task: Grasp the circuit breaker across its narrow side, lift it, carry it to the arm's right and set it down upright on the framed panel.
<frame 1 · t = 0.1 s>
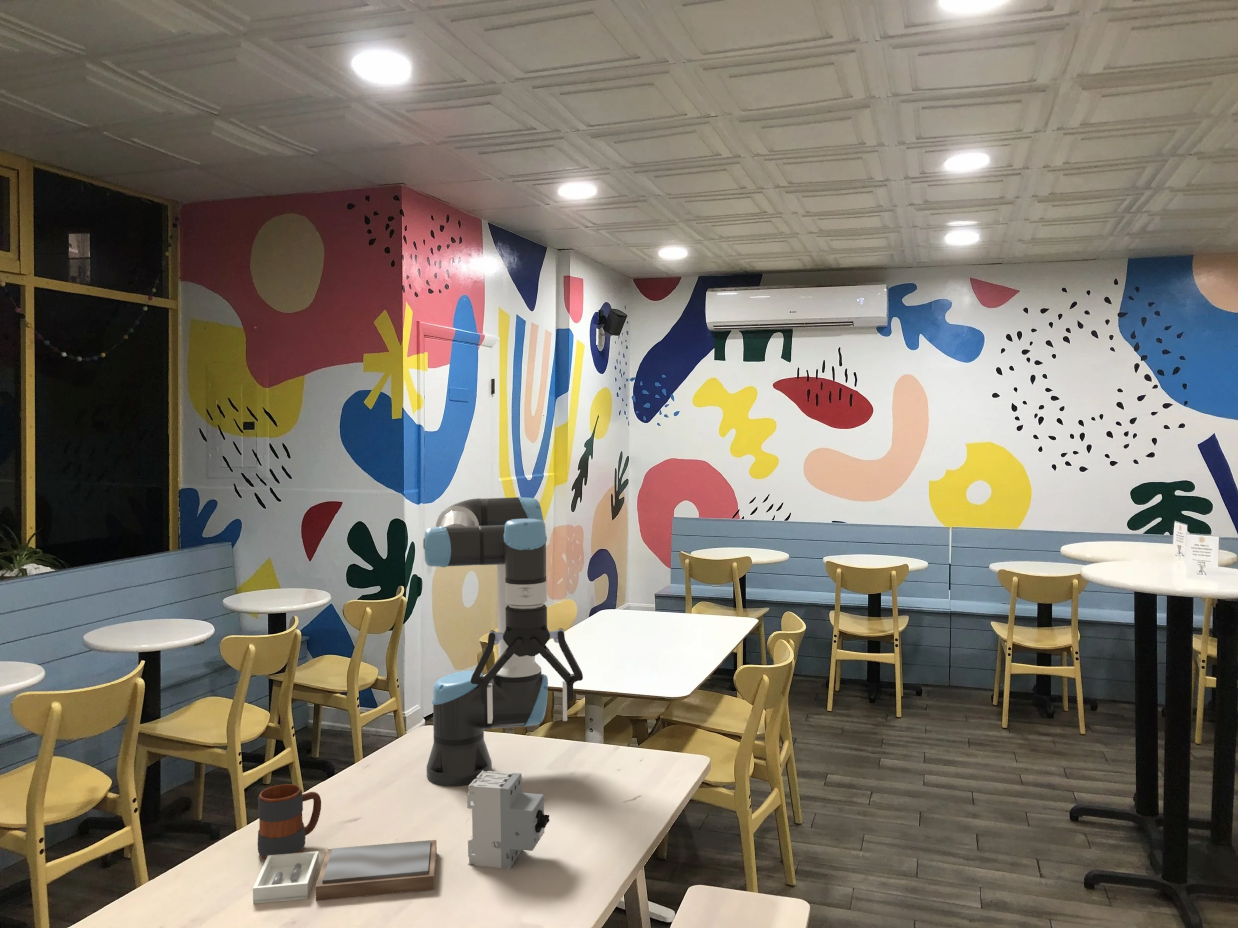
hand: (527, 719, 164), 28 cm above the table, fingers open, 13 cm apart
framed panel: (379, 875, 164), on the table
mug: (290, 849, 175), on the table
circuit breaker: (511, 859, 170), on the table
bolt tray: (287, 883, 161), on the table
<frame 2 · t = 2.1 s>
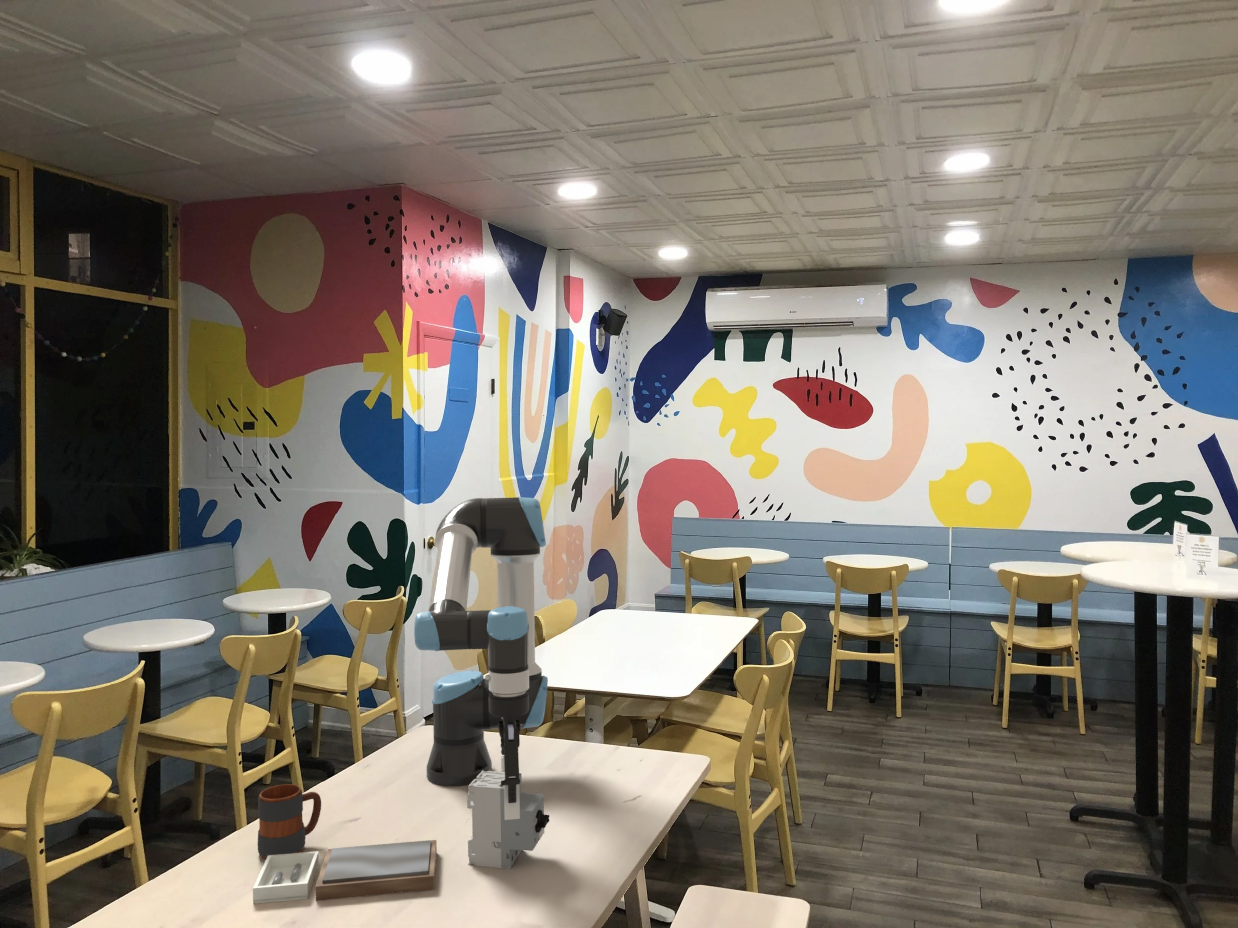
hand: (510, 803, 169), 11 cm above the table, fingers open, 13 cm apart
nothing on the table moved.
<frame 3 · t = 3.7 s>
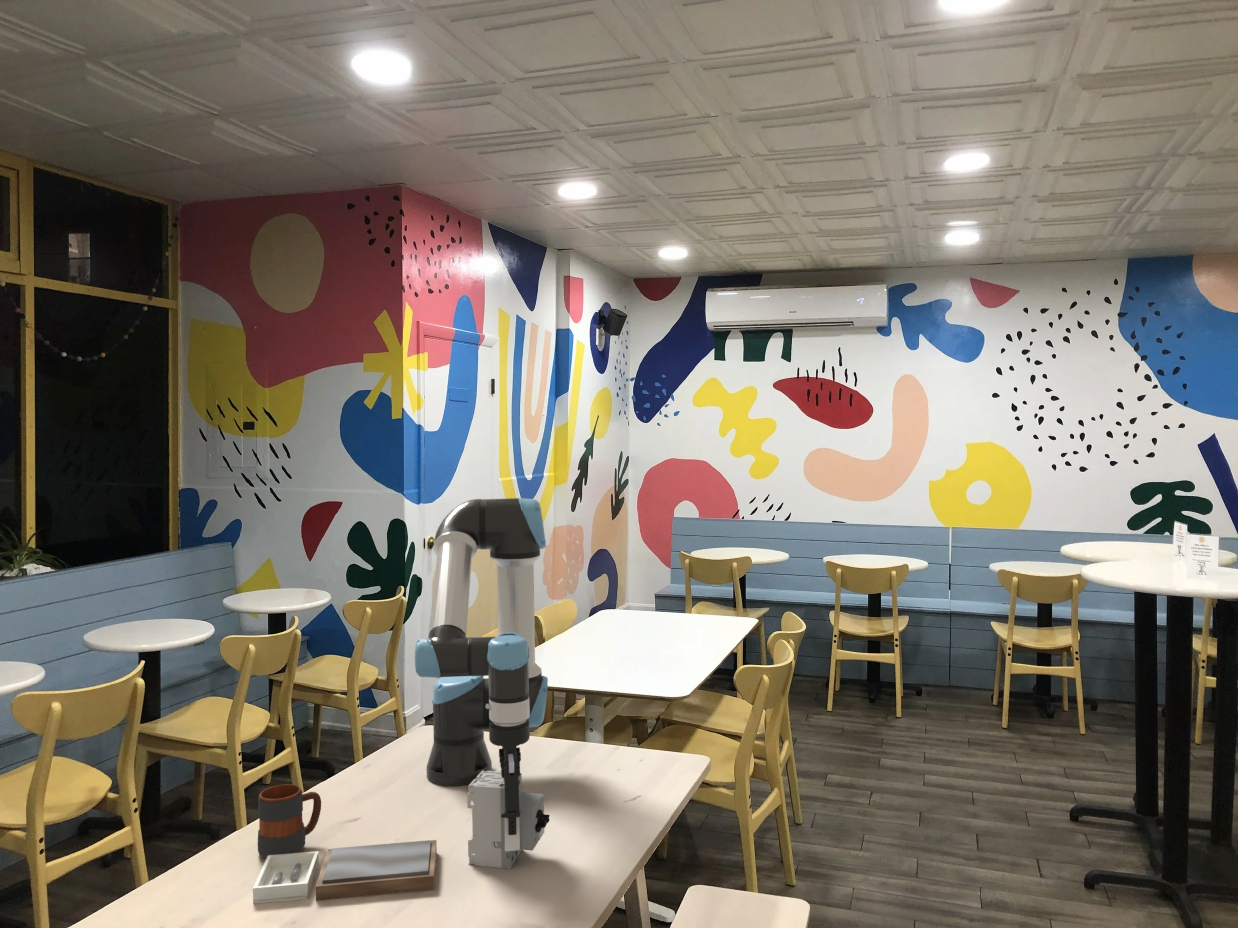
hand: (511, 837, 170), 4 cm above the table, fingers closed on circuit breaker, 9 cm apart
circuit breaker: (511, 859, 170), on the table, touching gripper
everything else where it was.
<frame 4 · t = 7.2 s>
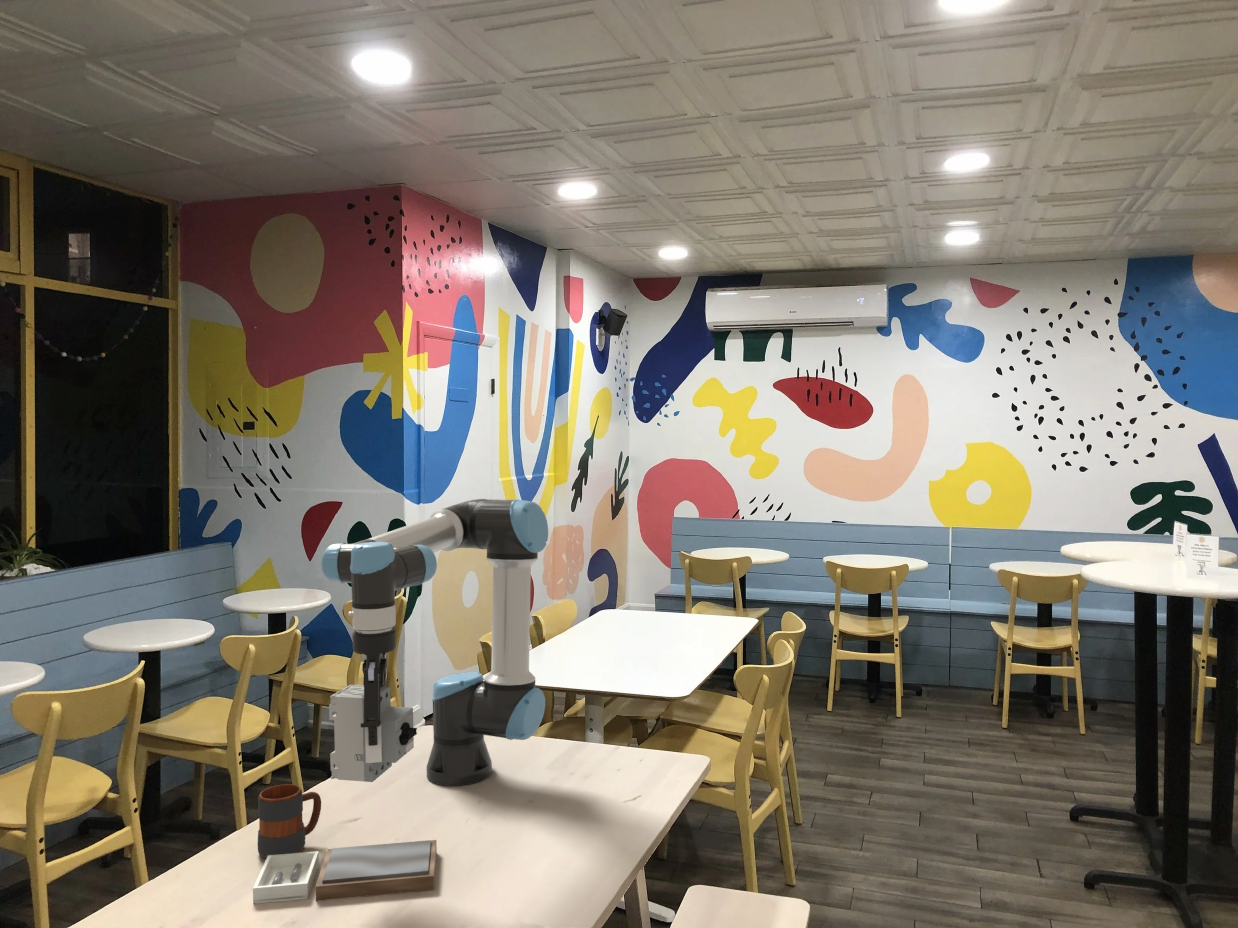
hand: (376, 751, 163), 23 cm above the table, fingers closed on circuit breaker, 9 cm apart
circuit breaker: (377, 774, 163), point 19 cm above the table, touching gripper
everything else where it was.
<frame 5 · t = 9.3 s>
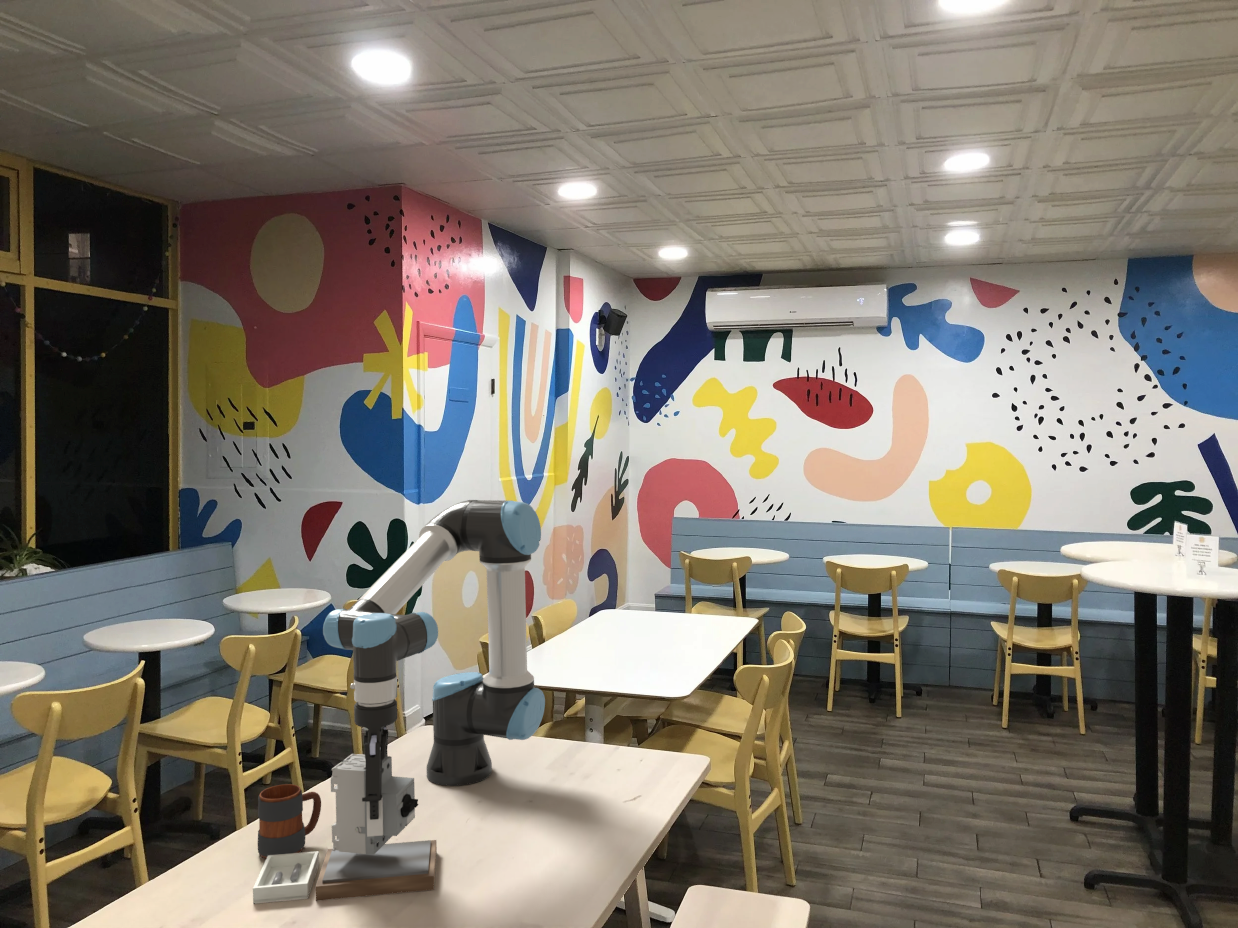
hand: (378, 822, 163), 10 cm above the table, fingers closed on circuit breaker, 9 cm apart
circuit breaker: (378, 845, 164), point 6 cm above the table, touching gripper
everything else where it was.
when the fingers open (7 cm above the table, at t = 10.8 s): circuit breaker stays where it is, resting on framed panel.
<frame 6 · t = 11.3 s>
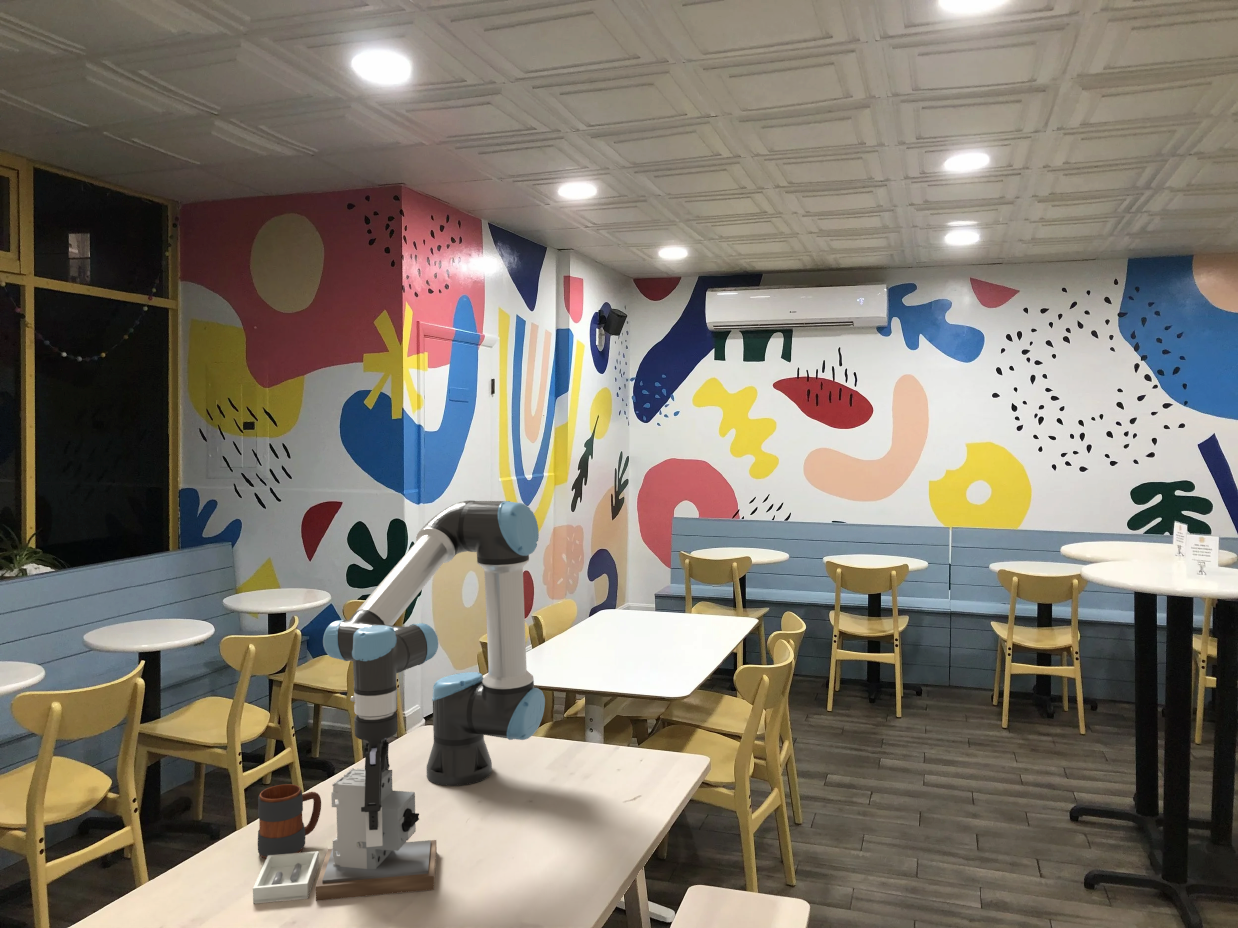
hand: (378, 828, 164), 9 cm above the table, fingers open, 13 cm apart
circuit breaker: (379, 859, 164), point 3 cm above the table, touching framed panel
everything else where it was.
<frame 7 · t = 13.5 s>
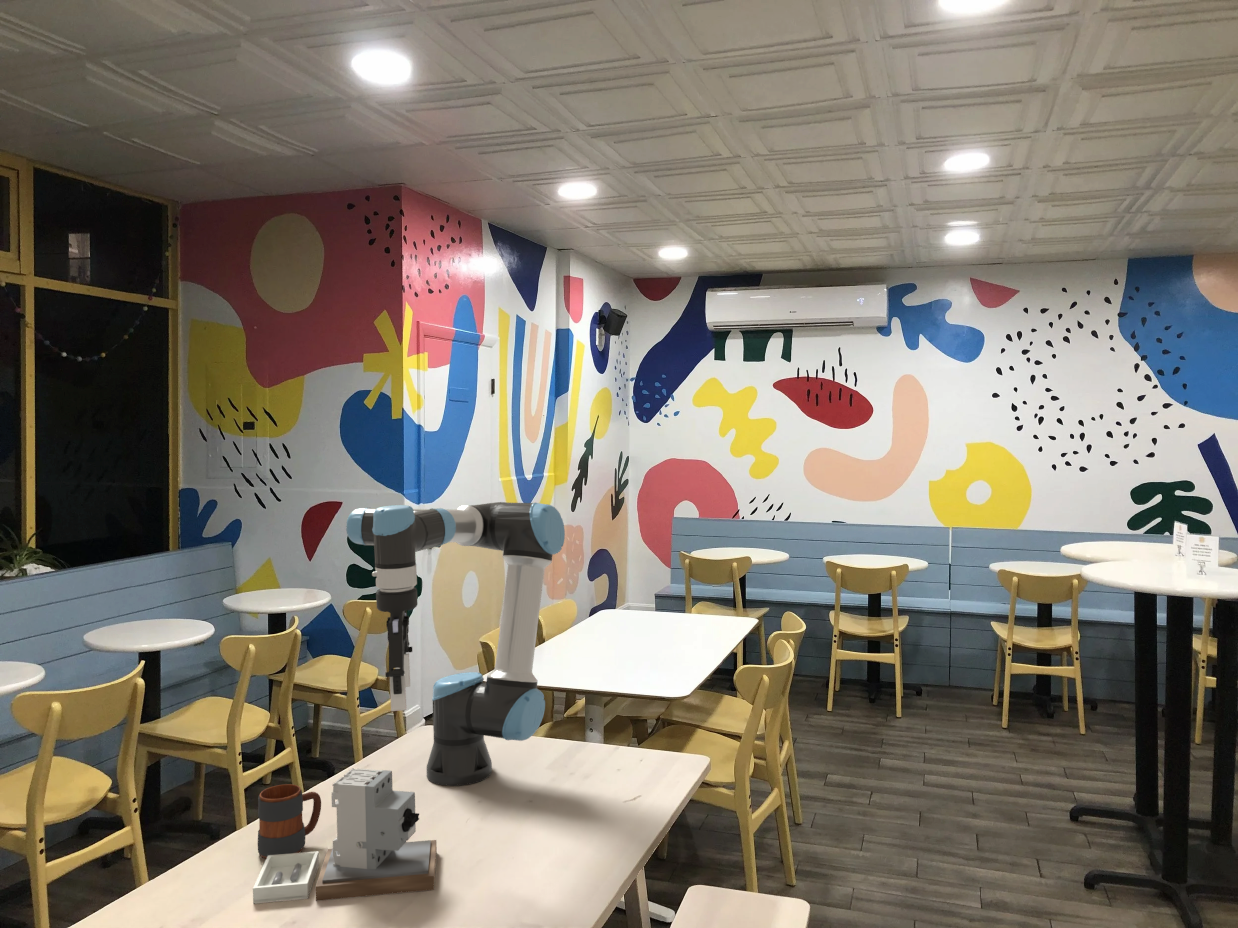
hand: (401, 697, 171), 30 cm above the table, fingers open, 13 cm apart
nothing on the table moved.
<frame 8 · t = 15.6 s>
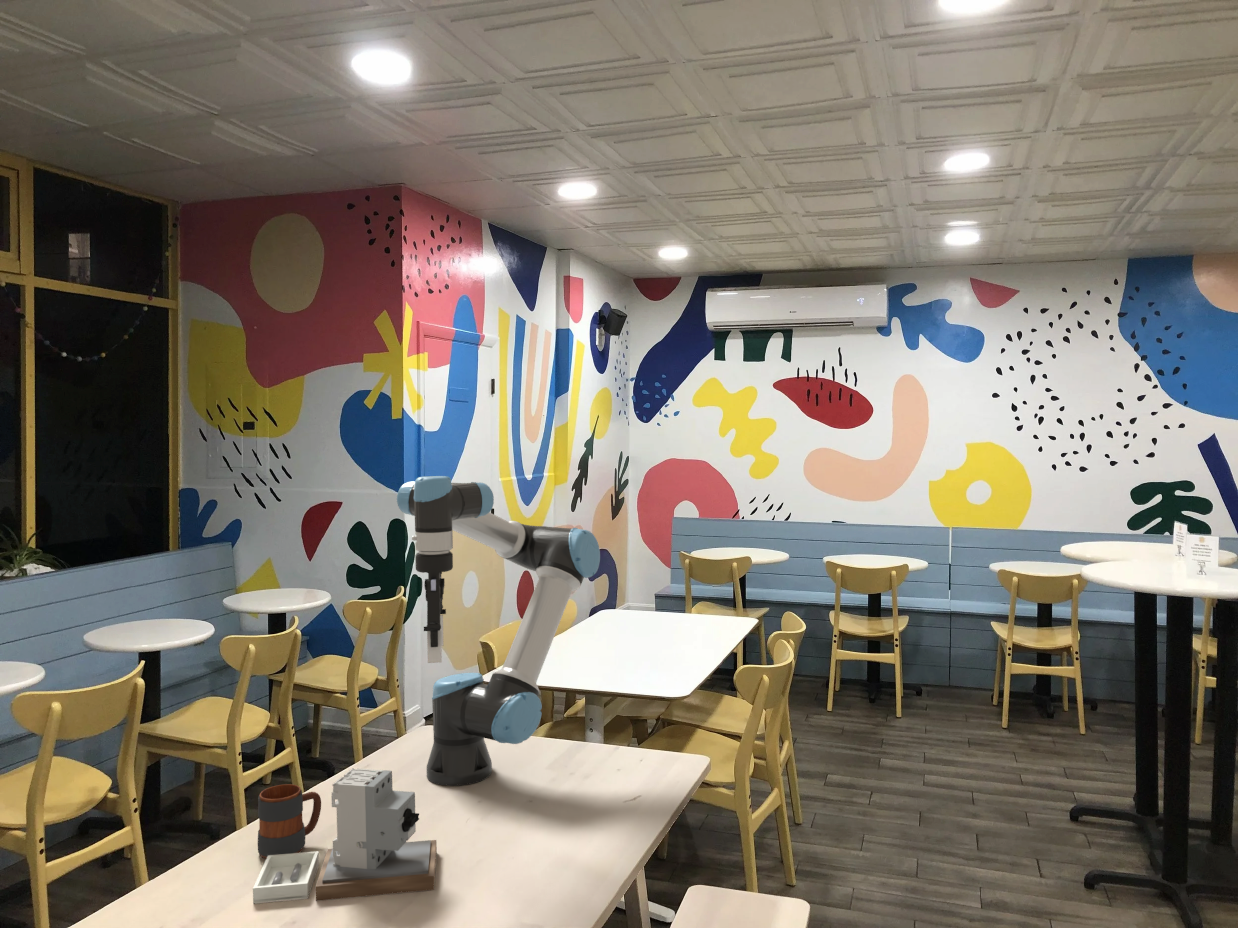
hand: (435, 653, 186), 35 cm above the table, fingers open, 13 cm apart
nothing on the table moved.
at the end: circuit breaker inside the target area on the framed panel (0.1 cm from its centre), point 2.8 cm above the framed panel's base; circuit breaker tilted 0°; the gripper is holding nothing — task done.
